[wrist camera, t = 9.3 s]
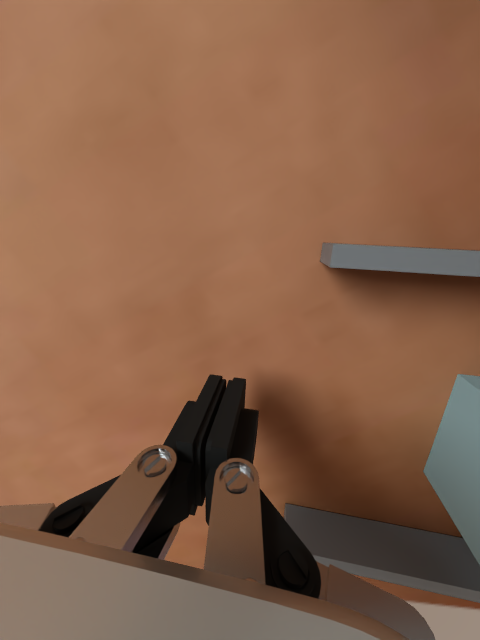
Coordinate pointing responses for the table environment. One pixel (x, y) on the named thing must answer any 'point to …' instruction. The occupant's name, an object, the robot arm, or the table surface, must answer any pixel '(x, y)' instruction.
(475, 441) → the teal block
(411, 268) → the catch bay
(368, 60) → the table surface
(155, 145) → the table surface
